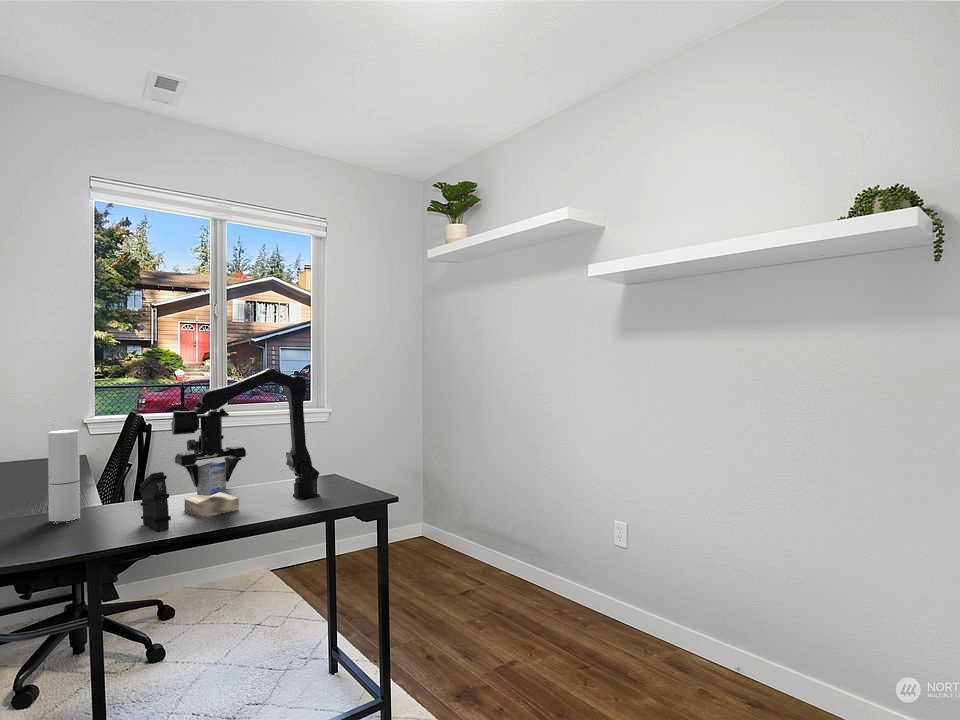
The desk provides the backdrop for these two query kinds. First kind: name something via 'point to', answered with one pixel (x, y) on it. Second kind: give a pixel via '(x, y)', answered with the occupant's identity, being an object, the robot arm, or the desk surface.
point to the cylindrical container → (63, 475)
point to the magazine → (155, 502)
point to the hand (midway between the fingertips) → (211, 484)
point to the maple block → (211, 504)
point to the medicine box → (211, 478)
